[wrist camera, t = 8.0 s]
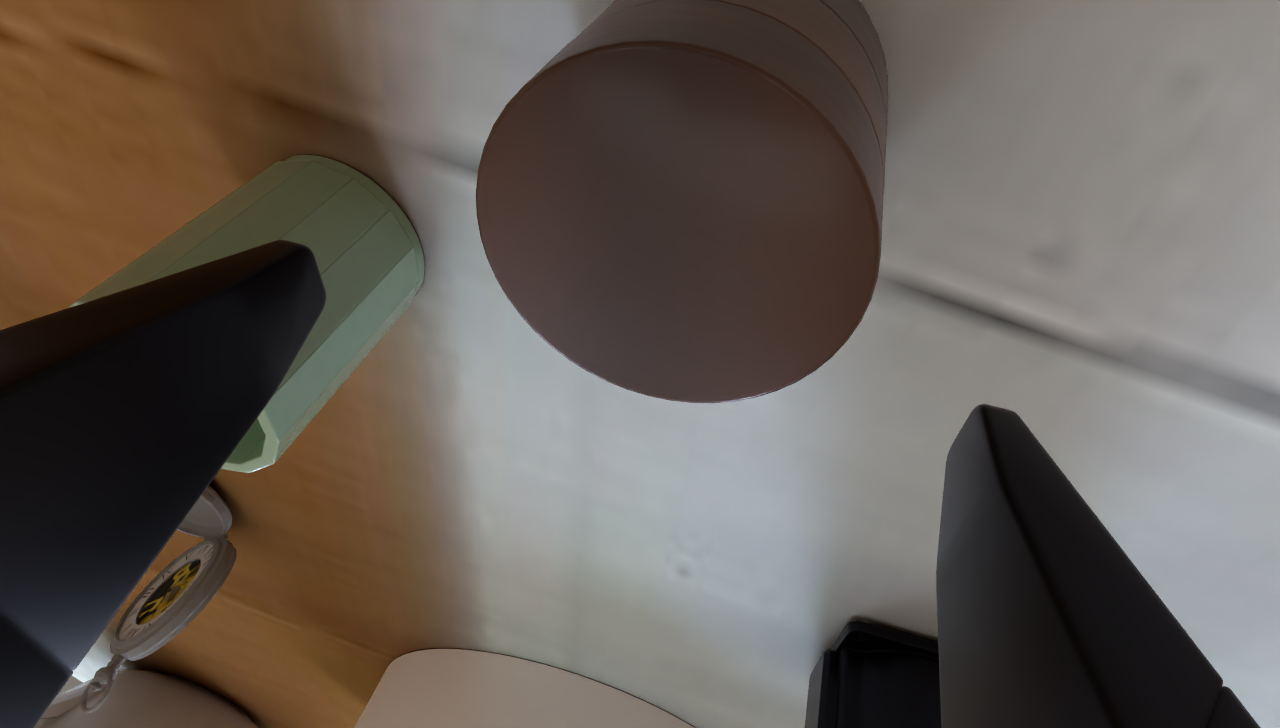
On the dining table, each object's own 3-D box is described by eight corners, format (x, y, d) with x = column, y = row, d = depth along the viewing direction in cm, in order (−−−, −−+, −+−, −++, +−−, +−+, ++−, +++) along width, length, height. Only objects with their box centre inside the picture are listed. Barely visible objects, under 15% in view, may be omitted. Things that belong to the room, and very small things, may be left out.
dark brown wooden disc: (945, 36, 9) (952, 89, 8) (826, 367, 14) (817, 440, 12) (511, -34, 10) (450, 4, 9) (530, 298, 15) (491, 357, 13)
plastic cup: (408, 172, 19) (229, 334, 14) (436, 324, 22) (303, 495, 17) (237, 136, 19) (9, 277, 14) (292, 288, 23) (125, 442, 18)
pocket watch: (111, 422, 33) (-101, 609, 26) (271, 500, 34) (108, 701, 27) (131, 498, 39) (-39, 668, 32) (268, 563, 40) (133, 742, 33)
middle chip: (941, -5, 11) (945, 36, 9) (833, 309, 15) (827, 368, 14) (558, -62, 12) (512, -33, 10) (563, 249, 16) (530, 298, 15)
